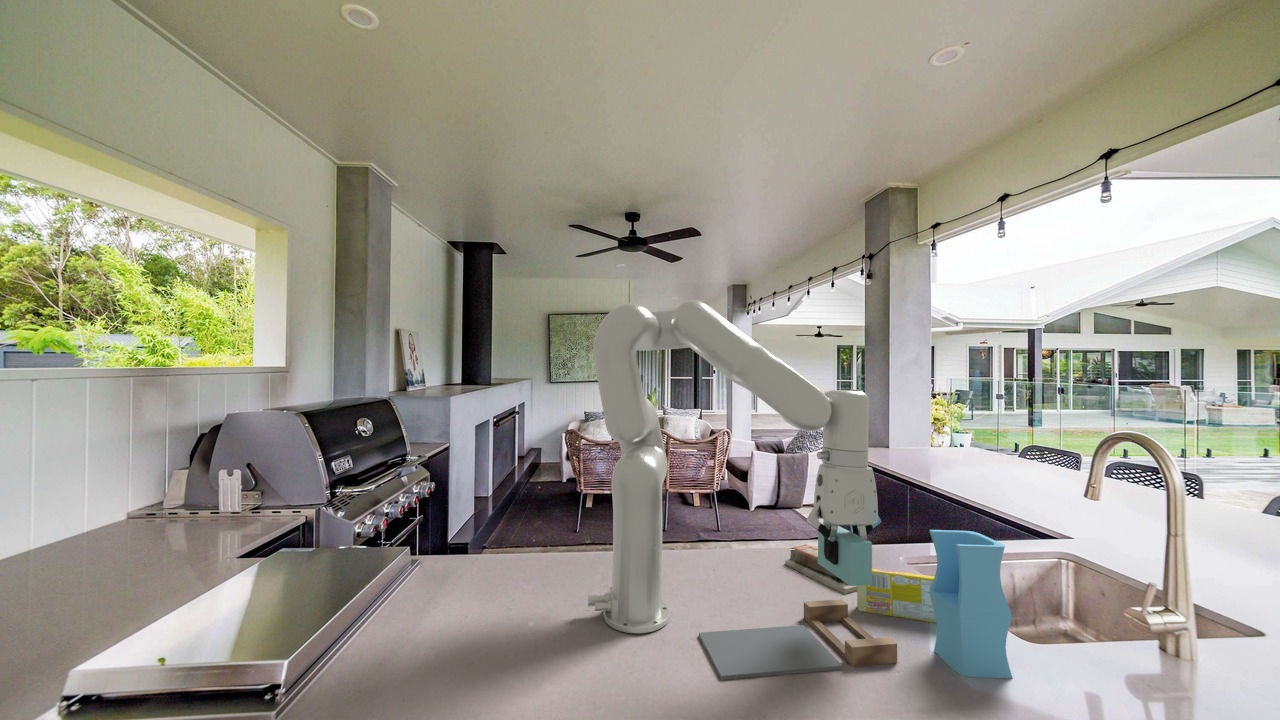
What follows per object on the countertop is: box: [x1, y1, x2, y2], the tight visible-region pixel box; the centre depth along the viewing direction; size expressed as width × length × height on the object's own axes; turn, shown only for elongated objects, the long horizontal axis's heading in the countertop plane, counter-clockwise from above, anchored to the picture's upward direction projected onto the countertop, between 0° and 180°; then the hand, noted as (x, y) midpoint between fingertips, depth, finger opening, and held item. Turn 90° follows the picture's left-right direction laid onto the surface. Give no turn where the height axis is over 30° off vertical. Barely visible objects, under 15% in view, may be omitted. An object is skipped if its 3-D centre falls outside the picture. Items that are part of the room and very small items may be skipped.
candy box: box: [856, 568, 937, 624], centre depth 89 cm, size 16×2×8 cm, turn 71°
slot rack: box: [803, 598, 898, 668], centre depth 81 cm, size 8×15×3 cm, turn 9°
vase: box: [929, 529, 1013, 680], centre depth 75 cm, size 8×8×20 cm
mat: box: [698, 624, 843, 681], centre depth 76 cm, size 20×12×1 cm, turn 99°
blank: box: [817, 526, 873, 586], centre depth 82 cm, size 4×10×7 cm, turn 9°
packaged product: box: [784, 544, 857, 595], centre depth 108 cm, size 18×5×10 cm
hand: (843, 560), depth 82 cm, fingers closed on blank, 4 cm apart
